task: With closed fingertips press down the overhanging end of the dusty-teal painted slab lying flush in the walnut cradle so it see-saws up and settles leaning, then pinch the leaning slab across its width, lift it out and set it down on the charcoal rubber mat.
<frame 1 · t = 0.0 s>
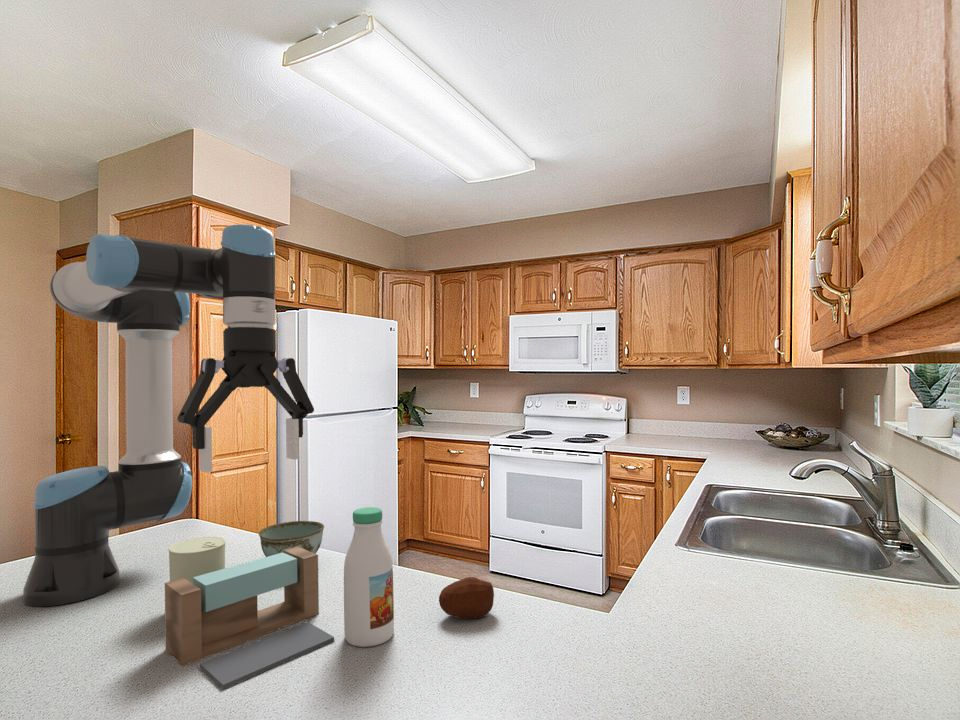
hand: (251, 464, 85), 28 cm above the countertop, fingers open, 13 cm apart
potato: (466, 618, 93), on the countertop
bowl: (292, 566, 119), on the countertop
cradle: (252, 628, 90), on the countertop
mat: (270, 653, 82), on the countertop
slab: (247, 592, 90), point 6 cm above the countertop, touching cradle
can: (198, 610, 98), on the countertop
milk bottle: (369, 637, 87), on the countertop
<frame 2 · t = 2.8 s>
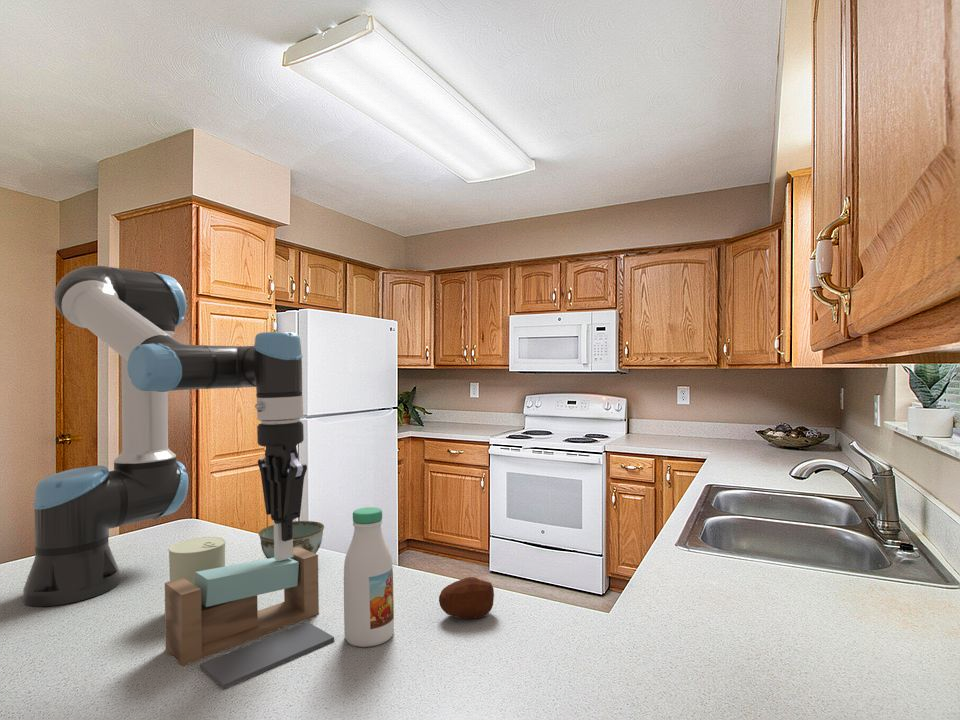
hand: (283, 558, 95), 10 cm above the countertop, fingers closed
slab: (247, 591, 90), point 6 cm above the countertop, tilted 5°, touching cradle, gripper
everything else where it was.
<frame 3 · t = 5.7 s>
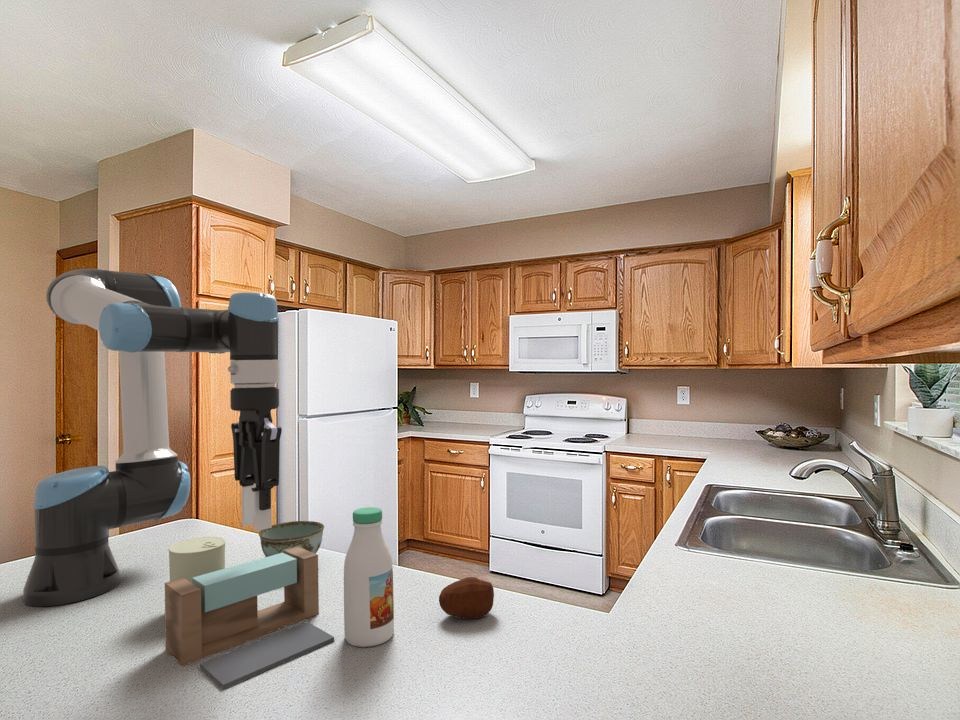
hand: (256, 526, 91), 17 cm above the countertop, fingers open, 3 cm apart
slab: (246, 592, 90), point 6 cm above the countertop, touching cradle
everything else where it was.
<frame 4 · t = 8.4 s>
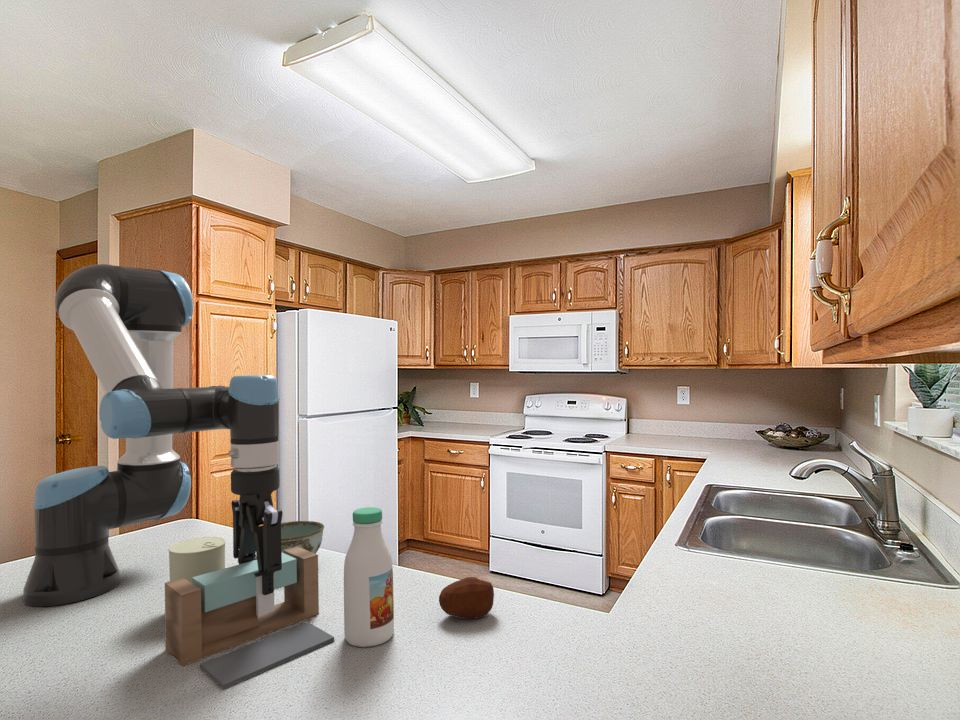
hand: (257, 607, 91), 3 cm above the countertop, fingers closed on slab, 5 cm apart
slab: (246, 592, 90), point 6 cm above the countertop, touching cradle, gripper
everything else where it was.
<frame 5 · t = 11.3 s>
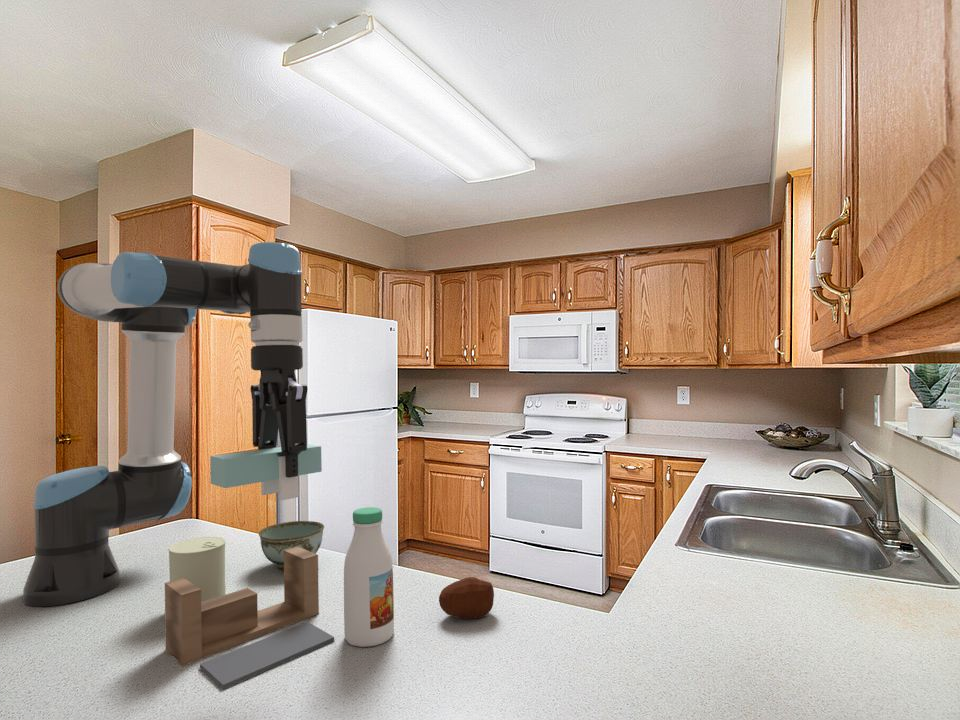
hand: (279, 495, 84), 23 cm above the countertop, fingers closed on slab, 5 cm apart
slab: (268, 477, 83), point 26 cm above the countertop, touching gripper
everything else where it was.
when the fingers open (6 cm above the countertop, at t = 14.3 s): slab drops 8 cm, resting on mat.
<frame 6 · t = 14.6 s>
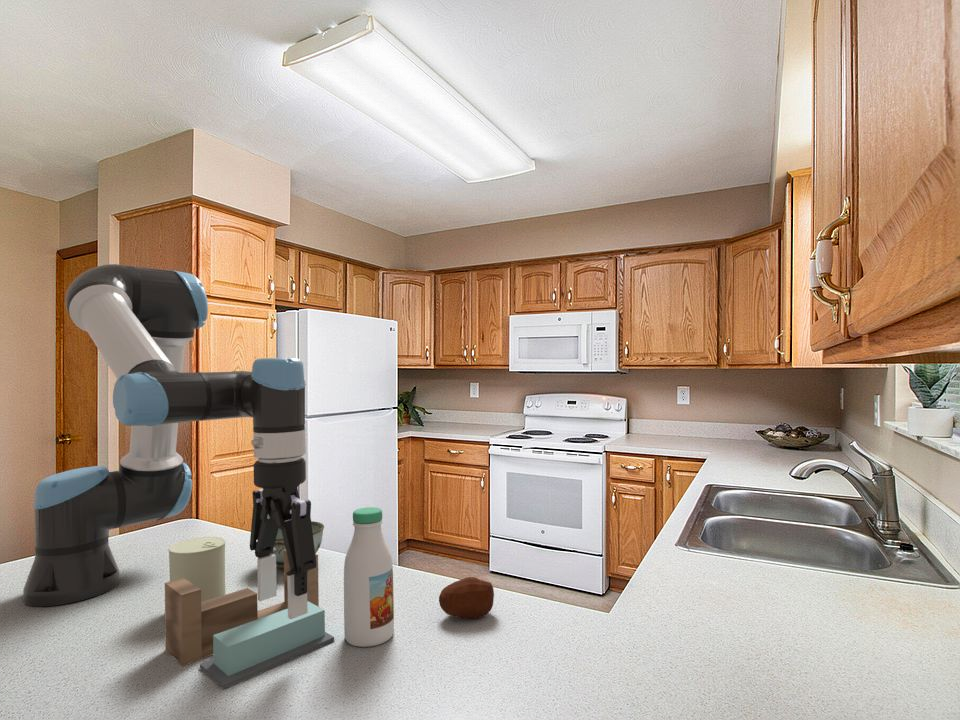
hand: (282, 606, 84), 6 cm above the countertop, fingers open, 9 cm apart
slab: (271, 648, 82), point 1 cm above the countertop, touching mat
everything else where it was.
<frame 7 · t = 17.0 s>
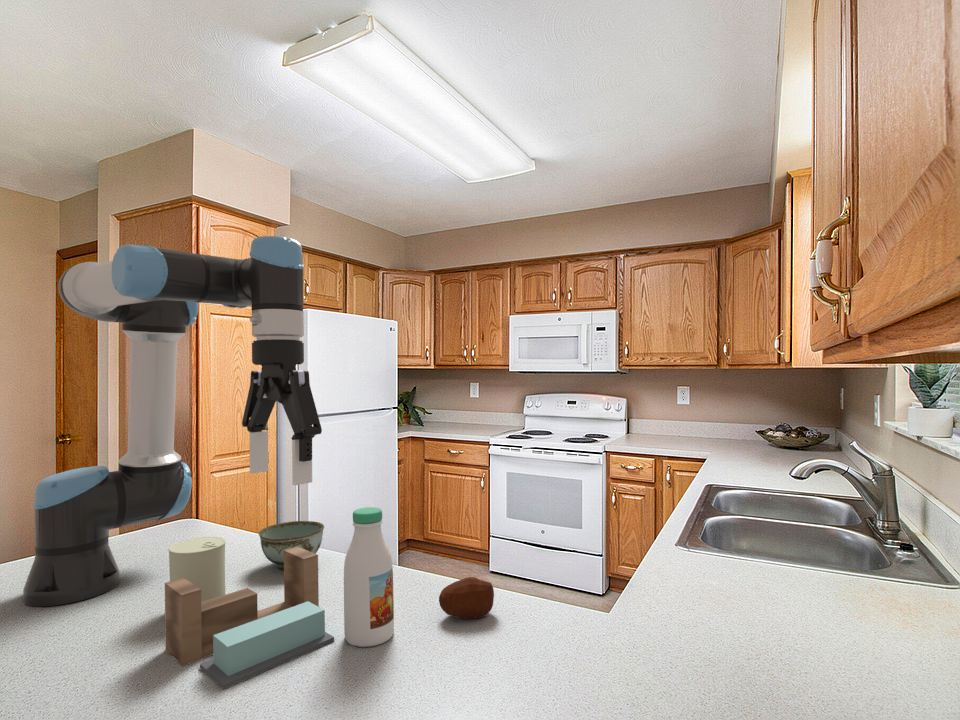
hand: (279, 477, 84), 26 cm above the countertop, fingers open, 13 cm apart
nothing on the countertop moved.
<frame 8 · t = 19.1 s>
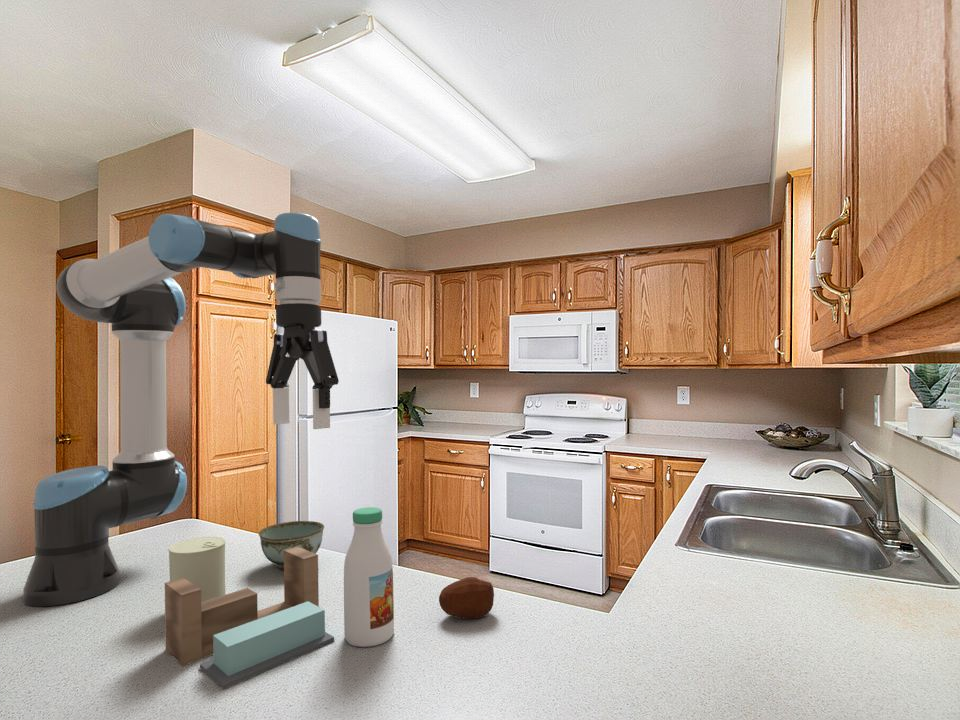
hand: (300, 426, 95), 33 cm above the countertop, fingers open, 13 cm apart
nothing on the countertop moved.
at the end: slab inside the target area (0.7 cm from its centre), point 0.6 cm above the countertop; slab touching mat; the gripper is holding nothing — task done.
